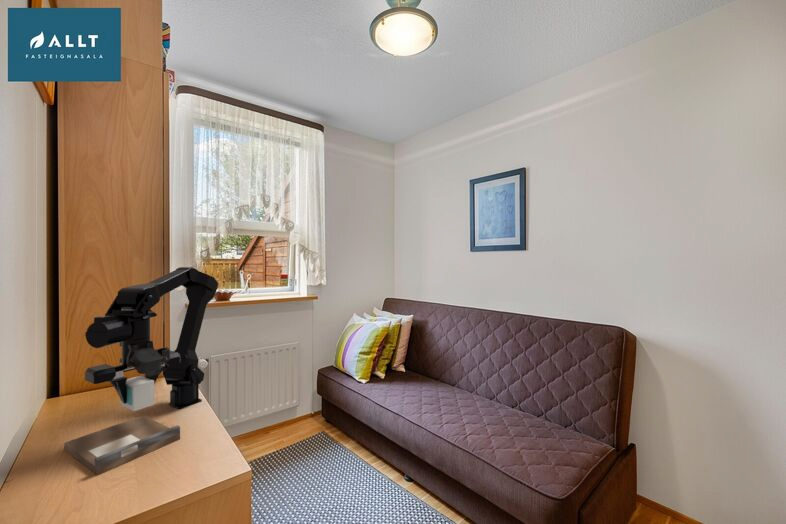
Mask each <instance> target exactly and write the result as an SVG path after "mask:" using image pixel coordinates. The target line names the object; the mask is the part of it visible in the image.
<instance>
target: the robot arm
mask: <svg viewBox="0 0 786 524" xmlns="http://www.w3.org/2000/svg"><path fill="white" fill-rule="evenodd" d="M179 287H184V289H185V288H186V289H185V295H186V298H187V300H188V304H187V309H186V312H185V315H184V319H183V324H182V326H181V330H180V333H179V338H178V342H177V344H176V348H175V350H170V348H169V347H167V346H166V347H165V346H164V347H161V348H160V347H159V348H157V349H155V347H154V341H153V340H151V318H155V317H157V316H158V313H156V312H155V311H153V307H155V306H156V305H157V304H158V303H159V302H160V300H161V298H162V297H163V296H165V295H166V294H169V293H171V292H172V291H174V290H175V289H177V288H179ZM218 288H219V282H218V280H216V278H215V277H214V276H212V275H210V274H207V273H204V272H202V271H199V270H198V269H197V268H195V267H192V266H190V267H189V266H180V267H177V268H176V269H175V270H173V271H171V272H169V273H167V274H164V275H163V276H160V277H158V278H155V279H154V280H152V281H149V282H146V283H141V284H134V285H131V286H125V287H123V288H120V289H119V290H118V291H117V295H116V296H115V298H114V300H113V301H112V303H111V305H110V306H109V308H108V309H107V311H106V313H105V314H104V316H95V317H93V323H91V324H90V325H89V326H88V327H87V329H86V331H85V334H84V335H85V340H86V343H88V345H89V346H91V347H92V348H94V349H100V348H103V347H104V348H105V347H109V346H111V345H114V344H119V347H121V358H119V363H120V364H118V365H114V366H113V365H110V364H107V363H105V364H104V363H103V364H99V365H94V366H90V367H88V368H87V369H86V370H85V371H84V381H86V382H88V383H91V384H93V385H99V384H101V383H102V384H103V383H106V382H108V383H110V384H111V385H112V386H113V388H114V390H115V391H116V393H117V395H118V396H119V400H120V399H121V400H120V402H121V401H122V402H123V403H124V404H125V403H127V393H126V381H127V379H128V377H127V376H124V375H125V374H124V373H125V372H130V371H135V370H136V372H137V373H138V374H140V375H144V377H146V378H148V379H151V380H154V386H155V384H156V382H157V379H158V377H159V376H160V374H162V375H163V377H164V378H163V379H164V380H165V383H166V385H167V386H170V385H171V390H170V391H169V395H170V396H169V403H168V406H172V407H174V408H177V409H179V410H182V409H184V408H188V407H191V406H193V405H196V404H198V403H201V402H202V400H203V399H201V398H200V397H199V396H200V395H199V393H200V392H199V388H200V387H199V386H200V385H201V384H202V382H203V381H204V378H205V372H204V371H203V370H202V369H200V368H199V358H198V355H197V352H196V349H197V345H198V340H199V337H200V332H201V329H202V324H203V320H204V317H205V313H206V309H207V305H208V304H209V303H210V302H211V301H212V300H213V299H214V297H215V295H216V293H217V290H218ZM199 384H200V385H199Z"/></svg>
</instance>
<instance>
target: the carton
mask: <svg viewBox="0 0 786 524" xmlns="http://www.w3.org/2000/svg"><path fill="white" fill-rule="evenodd" d="M126 393H127V403H125V404H124V403H123V402H122V401H121V399H120V398H119V400H120V405H121V406H123V407H124V408H127V409H128V410H131V411H132V412H135V411H138V410H141V409H145V408H148V407H151V406H153V405H155V385H154V380H151V379H148V378H146V377H145V376H143V375H138V376H134V377H131V378H127V381H126Z"/></svg>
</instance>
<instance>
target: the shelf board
mask: <svg viewBox="0 0 786 524" xmlns="http://www.w3.org/2000/svg"><path fill="white" fill-rule="evenodd" d="M179 440H181V425H174V426H172V427H168V426H167V425H164V424H163V423H161V422H159V421H156V420H154V419H153V418H151V417H148V416H146V415H145V414H143V415H140V416H138V417H137V416H136V417H134V418H131V419H129V420H125V421H122V422H120V423H116V424H113V425H111V426H108V427H104V428H102V429H99V430H97V431H94V432H92V433H91V432H90V433H89V434H85V435H83V436H80V437H77V438H75V439H71V440H69V441H65V442H63V450H64V451H66V453H68V454H70V455H71V456H72V457H74V459H76V460H77V461H78V462H79V463H81V464H82V465H83V466H84V467H86V468H88V470H89V471H91V472H92V473H94V474H95V475H97V476H100V475H102V474H103V473H106V472H107V471H110V470H112V469H114V468H118V467H120V466H122V465H124V464H127V463H129V462H131V461H134V460H136V459H137V458H140V457H143V456H144V455H147V454H149V453H151V452H154V451H156V450H158V449H159V450H160V449H161V448H163V447H165V446H166V447H167V445H168V446H169V444H172V443H175V442H176V441H179Z"/></svg>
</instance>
